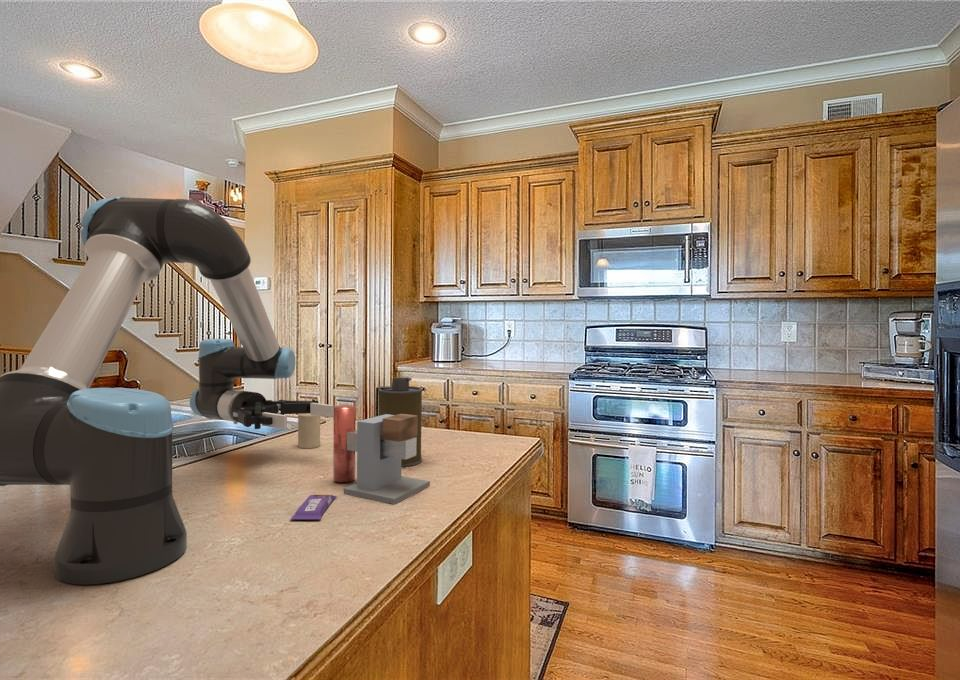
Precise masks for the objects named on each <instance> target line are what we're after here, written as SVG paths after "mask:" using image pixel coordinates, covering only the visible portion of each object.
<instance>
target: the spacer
mask: <svg viewBox="0 0 960 680" xmlns="http://www.w3.org/2000/svg"><path fill="white" fill-rule="evenodd" d="M417 432H418V416H417V415H408V414H398V415H394V416H390V417H387V418H383V425H382V439H384V440H391V441H398V442H400V441H403V440H406V439H409V438H412V437H415V436H417Z"/></svg>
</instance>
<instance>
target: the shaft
mask: <svg viewBox="0 0 960 680" xmlns="http://www.w3.org/2000/svg"><path fill="white" fill-rule="evenodd" d="M356 410H357V409H356V405H353V404H352V405H351V404H349V405H348V404H344V405H343V404H342V405H341V404H340V405H336V406H335V405H334V417H333V446H332V447H333V448H332V449H333V455H332V456H333V457H332V458H333V459H332V460H333V468H332V469H333V471H332V473H333V481H334V482H338V483H339V482H340V483H344V482H345V483H347V482H352V481H354V480H355V479H356V453H357V429H356V422H357V421H356V416H357V415H356V412H357V411H356ZM416 443H417V437H412V438H409V439H406V440H403V441H400V442H398V441H391V440H384V439H382V434H381V435H380V456H386V457H392V458H399V459H405V460H406V459H409V458H411V457H414V456H416Z"/></svg>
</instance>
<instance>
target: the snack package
mask: <svg viewBox="0 0 960 680" xmlns="http://www.w3.org/2000/svg"><path fill="white" fill-rule="evenodd" d="M337 496H338V495H333V494H310V495H309V496H308V497H307V498H306V499H305V500H304V502H302V504H301V505H300V506H299V507H298V508H297V510H296V511H295V513H294V514H293V516H292V517H290V519H289V520H321V519H322V516H323V515H324V514H325V513H326V512H327V510H328V509H329V507H330V506H331V504H332V503H333V502H334V501H335V499H336V498H337Z"/></svg>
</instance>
